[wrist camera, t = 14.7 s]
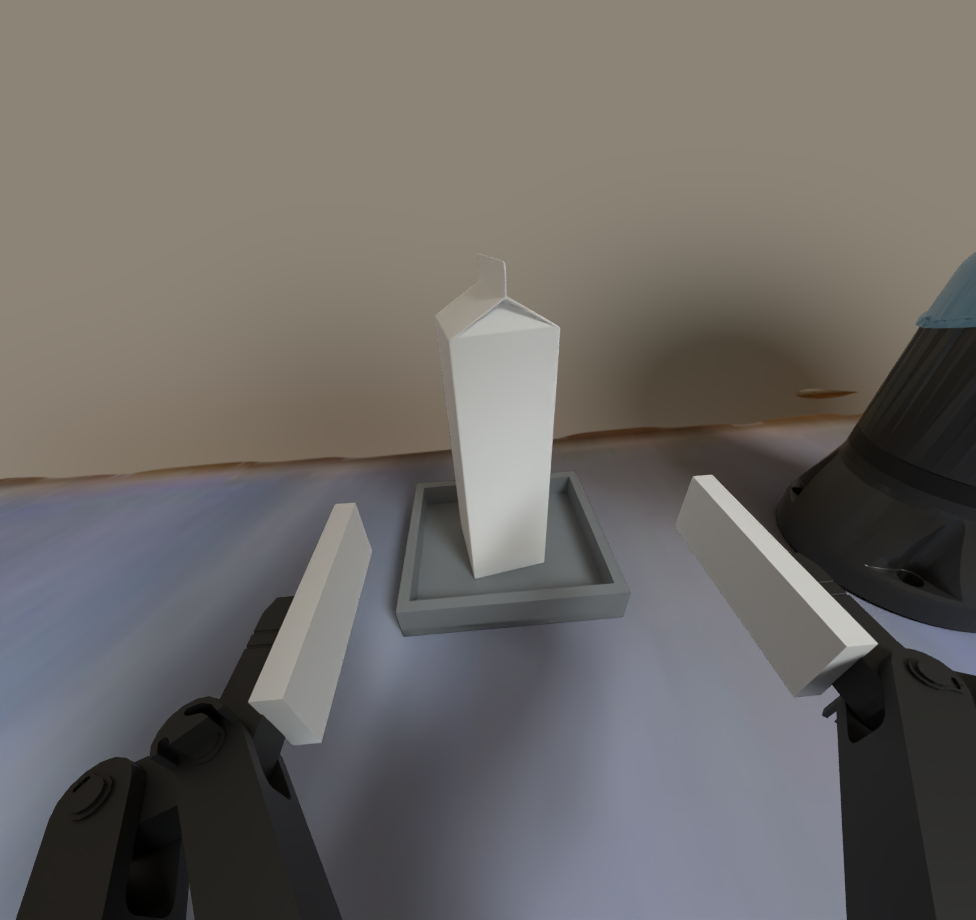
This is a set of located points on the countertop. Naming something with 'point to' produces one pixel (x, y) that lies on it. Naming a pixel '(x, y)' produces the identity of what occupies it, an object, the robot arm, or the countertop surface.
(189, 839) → the robot arm
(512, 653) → the countertop surface
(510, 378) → the milk
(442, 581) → the tray
